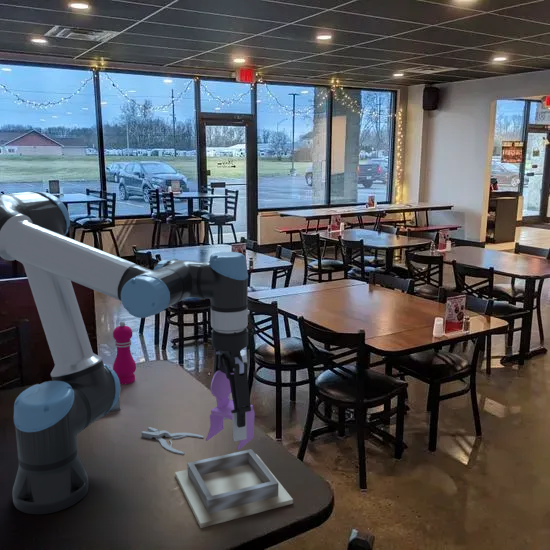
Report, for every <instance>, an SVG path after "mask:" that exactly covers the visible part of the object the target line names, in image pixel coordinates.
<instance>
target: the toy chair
mask: <svg viewBox="0 0 550 550" xmlns="http://www.w3.org/2000/svg"><path fill="white" fill-rule="evenodd" d="M213 374H214V373H213ZM231 374H234V373H231ZM210 394H211V395H212V396H213V397H215V399H216V400H215V401H216V407H214V408H212V409H211V411H210V413H211V414H210V415H209V422H210V425H209V431H208V432H207V435H206V438H205V441H209V440H210V439H212V438H214V436H216V435H217V434H218V433H220V432H221V431H223V430H224V420H223V418H224V417H225V418H228V419H227V420H231V421H233V413H231V411H232V410H234V404H233V399H228V395H229V394H230V395H231V394H232V393H231V387H230V381H229V379H227V377H226V374H225V373H223V372H221V371H220V370H219V371H217V372H216V373H215V374H214V376H213V377H212V379H211V382H210ZM250 405H251V411H249V412H246V432H247V439H244V440H239V442H238V446H237V448H236V450H237V451H239V450H241V449H242V448H243V447H244V446H245V445H247V444H248V443H249V442H250V441H252V440H253V439H254V438H255V434H254V433H255V432H254V431H255V429H254V428H255V417H256V415H255V410H254V406H253V405H254V404H250Z"/></svg>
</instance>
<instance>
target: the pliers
mask: <svg viewBox="0 0 550 550" xmlns="http://www.w3.org/2000/svg"><path fill="white" fill-rule="evenodd" d="M140 433H141V437H142V438H145V439H146V438H147V439H150V440H152V439H153V438H154V439H155V440H156V441H158V442H159V443H160V446H161V447H162V448H163V449H164V448H165V449H164V450H166V451H168V452H171V453H173V454H177V455H183V456H184V455H185V451H181V450H178V449H176V448H174V447H173V442H172V440H180V439H183V438H186V437H188V438H189V437H190V438H198V439H202V438H203V439H204V438H205V437H204V435H201V434H198V433H194V432H192V433H191V432H173V433H170V432H169V431H168V430H164V429H163V430H159V429H158V428H154V427H151V426H148V427H147V431H146V430H145V431H144V430H142V431H141V432H140ZM163 437H166V438H171V439H168V441H169V443H170V445H169V444H168V442H167V440H166V439H165V438H163Z"/></svg>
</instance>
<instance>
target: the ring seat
mask: <svg viewBox="0 0 550 550" xmlns="http://www.w3.org/2000/svg"><path fill="white" fill-rule="evenodd" d="M186 465H187V469H183V470H179V471H174V475H175V479H176V481H177V483H178V485H179V486H180V489H181V491H182V493H183V495H184V497H185V499H186V502H187V504H188V505H189V507H190V510H191V511H192V513H193V515H194V517H195V519H196V522H197V524H198V525H199V528H200V529H203V528H205V527H210V526H213V525H214V526H215V525H217V524H221V523H225V522H228V521H231V520H237V519H241V518H245V517H247V516H252V515H256V514H260V513H262V512H263V513H264V512H266V511H269V510H270V511H271V510H274V509H278V508H282V507H285V506H288V505H292V504H294V498H292V496H291V495H290V494H289V493H288V491H287V490H286V488H284V486H283V485H282V484H281V482H280V481H279V480H278V479H277V477H276V476H275V475H274V474H273V473H272V471H271V470H270V469H269V467H268V466H267V465H266V464H265V462H264V461H263V460H262V458H261V457H260V456H259V455H258V454H257V453H255V452H254V450H253V449H252V448H250V449H245V450H241V451H237V452H235V451H234V452H232V453H228V454H223V455H217V456H212V457H209V458H204V459H199V460H195V461H194V460H193V461H191V462H187V463H186Z"/></svg>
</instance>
